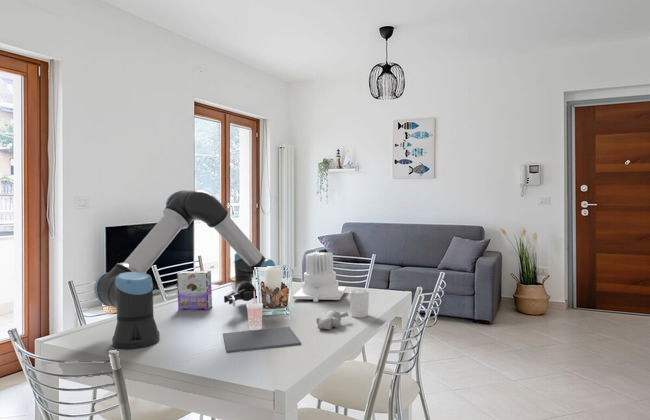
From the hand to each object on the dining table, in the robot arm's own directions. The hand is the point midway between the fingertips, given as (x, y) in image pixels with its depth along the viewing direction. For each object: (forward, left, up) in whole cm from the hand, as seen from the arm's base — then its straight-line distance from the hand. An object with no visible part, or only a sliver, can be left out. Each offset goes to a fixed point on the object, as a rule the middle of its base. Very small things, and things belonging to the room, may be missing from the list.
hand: (251, 301), depth 184 cm
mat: (-18, -15, -8) cm, 25 cm away
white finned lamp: (+49, -6, -8) cm, 51 cm away
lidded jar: (+43, +35, -8) cm, 56 cm away
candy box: (+10, +37, -8) cm, 39 cm away
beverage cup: (-8, -6, -8) cm, 13 cm away
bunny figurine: (+6, -31, -8) cm, 33 cm away
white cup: (+22, -36, -8) cm, 43 cm away
